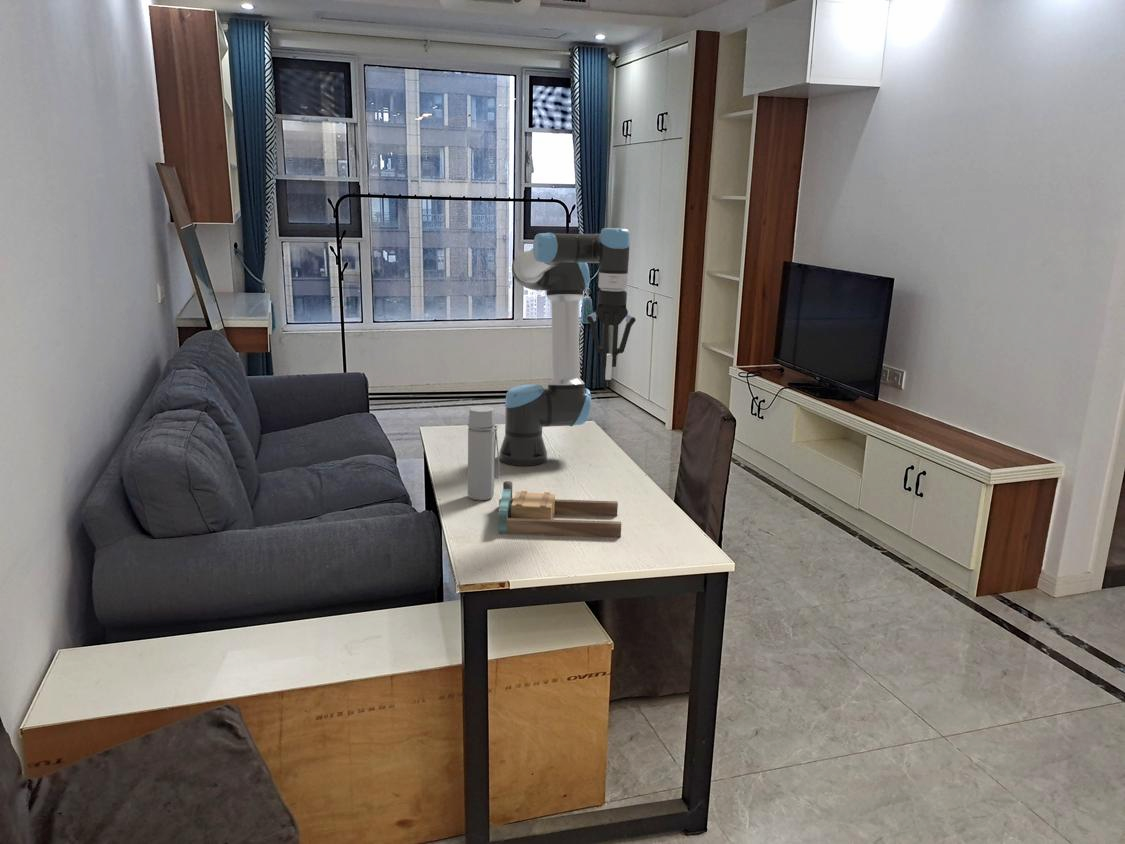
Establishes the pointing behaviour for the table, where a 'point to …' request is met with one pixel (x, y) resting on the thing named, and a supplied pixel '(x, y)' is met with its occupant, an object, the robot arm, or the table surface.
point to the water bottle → (481, 453)
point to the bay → (560, 526)
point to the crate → (533, 505)
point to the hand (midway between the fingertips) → (608, 378)
